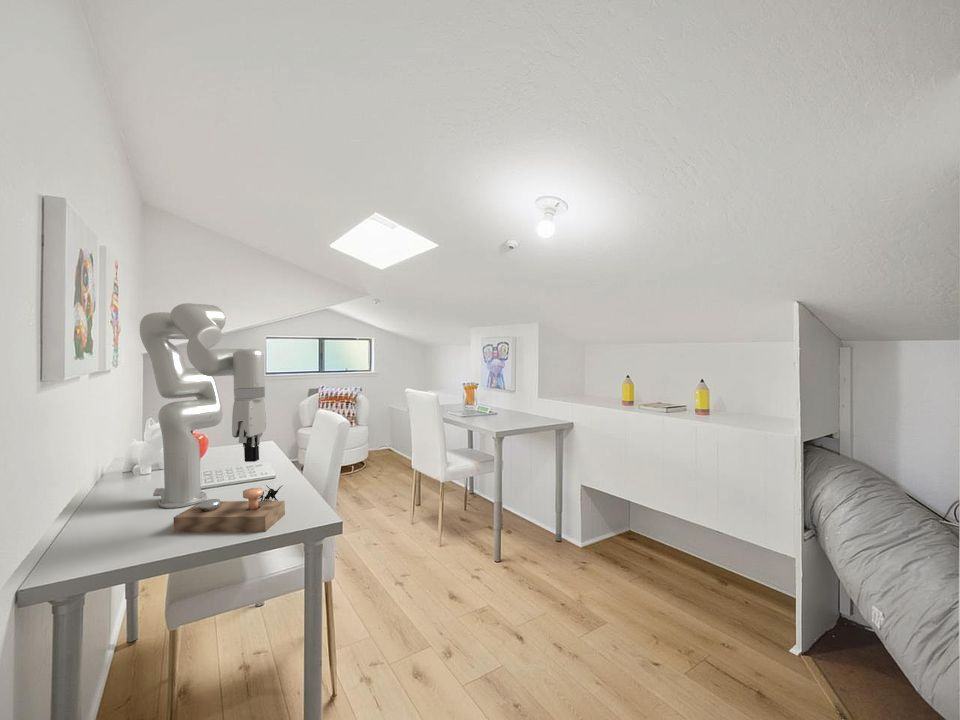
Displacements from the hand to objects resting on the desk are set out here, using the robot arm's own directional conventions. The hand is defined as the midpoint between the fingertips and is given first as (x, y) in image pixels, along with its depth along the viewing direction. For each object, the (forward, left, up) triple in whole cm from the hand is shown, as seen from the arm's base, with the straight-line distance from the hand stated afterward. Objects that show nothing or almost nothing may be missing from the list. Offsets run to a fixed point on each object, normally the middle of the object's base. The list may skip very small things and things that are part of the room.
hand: (251, 460), depth 125 cm
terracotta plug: (0, 0, -14) cm, 14 cm away
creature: (-4, +16, -18) cm, 24 cm away
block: (-6, 0, -17) cm, 18 cm away
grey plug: (-12, 0, -17) cm, 21 cm away
